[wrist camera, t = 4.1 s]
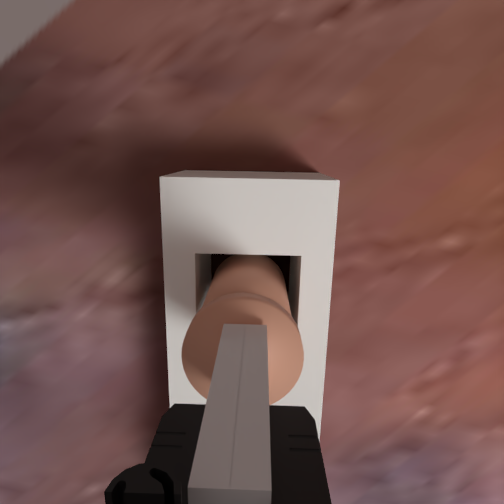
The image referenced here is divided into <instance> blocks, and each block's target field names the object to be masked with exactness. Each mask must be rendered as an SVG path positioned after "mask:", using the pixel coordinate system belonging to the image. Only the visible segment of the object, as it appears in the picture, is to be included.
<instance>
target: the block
mask: <svg viewBox="0 0 504 504" xmlns="http://www.w3.org/2000/svg"><path fill="white" fill-rule="evenodd" d="M159 178H160V200H161V223H162V245H163V268H164V290H165V313H166V335H167V357H168V380H169V402H170V408H171V407H172V406H173V405H174V404H175V403H177V404H206V402H207V399H205V398H204V397H203V396H202V395H200V394H199V393H198V392H197V391H196V390H195V389H194V387H193V386H192V385H191V384H190V382H189V380H188V378H187V377H186V374H185V372H184V369H183V365H182V357H181V354H182V345H183V341H184V338H185V335H186V332H187V330H188V328H189V325H190V323H191V321H192V319H193V318H194V316H195V315H196V314H197V312H198V311H199V310H200V309H201V308H202V306H203V303H204V300H205V298H206V295H207V292H208V290H209V287H210V284H211V254H246V255H289V256H290V270H289V292H288V301H289V306H290V311H291V316H292V318H293V319H294V321H295V322H296V324H297V327H298V329H299V332H300V336H301V340H302V345H303V351H304V362H303V368H302V372H301V375H300V377H299V379H298V381H297V383H296V384H295V386H294V387H293V388H292V389H291V391H290V392H289V393H288V394H287V395H285V396H284V397H283V398H282V399H280V400H279V401H277V402H275V403H273V404H272V405H278V406H305V407H306V409H307V410H308V411H309V413H310V414H311V415H312V417H313V418H314V419H315V422H316V427H317V432H318V439H319V441H320V428H321V415H322V402H323V389H324V376H325V363H326V350H327V337H328V324H329V312H330V299H331V286H332V273H333V260H334V247H335V234H336V221H337V208H338V195H339V182H340V180H337V179H335V178H332V177H329V176H327V175H324V174H321V173H307V172H256V171H206V170H184V171H180V172H176V173H172V174H168V175H164V176H160V177H159Z"/></svg>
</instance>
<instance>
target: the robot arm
mask: <svg viewBox="0 0 504 504" xmlns="http://www.w3.org/2000/svg"><path fill="white" fill-rule="evenodd" d="M104 493H105V503H106V504H331V499H330V494H329V489H328V483H327V478H326V473H325V468H324V463H323V458H322V453H321V448H320V443H319V439H318V432H317V427H316V422H315V419H314V418H313V417H312V415H311V414H310V413H309V411H308V410H307V409H306V407H305V406H278V405H269V380H268V344H267V325H254V324H224V325H223V329H222V334H221V338H220V343H219V347H218V352H217V356H216V361H215V365H214V370H213V374H212V379H211V383H210V388H209V393H208V397H207V402H206V404H177V403H175V404H174V405H173V406H172V407H171V408H170V409H169V410H168V411H167V412H166V413H165V414H164V415H163V416H162V418H161V421H160V423H159V426H158V429H157V431H156V435H155V437H154V439H153V442H152V445H151V448H150V450H149V453H148V455H147V458H146V461H145V463H143V464H138V465H135V466H133V467H131V468H128V469H126V470H124V471H123V472H122V473H120V474H119V475H118V476H117V477H115V478H114V479H113V480H112V481H111V483H110V484H109V486H108V487H107V489H106V490H105V492H104Z"/></svg>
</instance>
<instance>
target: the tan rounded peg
mask: <svg viewBox="0 0 504 504" xmlns="http://www.w3.org/2000/svg"><path fill="white" fill-rule="evenodd" d="M224 324H254V325H267V344H268V380H269V405H272V404H273V403H275V402H277V401H279V400H280V399H282V398H283V397H284V396H285V395H287V394H288V393H289V392H290V391H291V389H292V388H293V387H294V386H295V384H296V383H297V381H298V379H299V377H300V375H301V372H302V368H303V362H304V351H303V345H302V340H301V336H300V332H299V329H298V327H297V324H296V322H295V321H294V319H293V318H292V316H291V311H290V306H289V301H288V295H287V290H286V284H285V279H284V276H283V273H282V271H281V269H280V268H279V266H278V265H277V264H276V263H275V262H274V261H273V260H272V259H270V258H269V257H267V256H265V255H246V254H234V255H232V256H230V257H228V258H227V259H225V260H224V261H223V262H222V263H221V264H220V265H219V267H218V268H217V270H216V272H215V274H214V276H213V279H212V282H211V284H210V287H209V290H208V292H207V295H206V298H205V300H204V303H203V306H202V308H201V309H200V310H199V311H198V312H197V314H196V315H195V316H194V318H193V319H192V321H191V323H190V325H189V328H188V330H187V332H186V335H185V338H184V341H183V345H182V354H181V357H182V365H183V369H184V372H185V374H186V377H187V378H188V380H189V382H190V384H191V385H192V386H193V387H194V389H195V390H196V391H197V392H198V393H199V394H200V395H202V396H203V397H204V398H205V399H207V397H208V393H209V388H210V383H211V379H212V374H213V370H214V365H215V361H216V356H217V352H218V347H219V343H220V338H221V334H222V329H223V325H224Z"/></svg>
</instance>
